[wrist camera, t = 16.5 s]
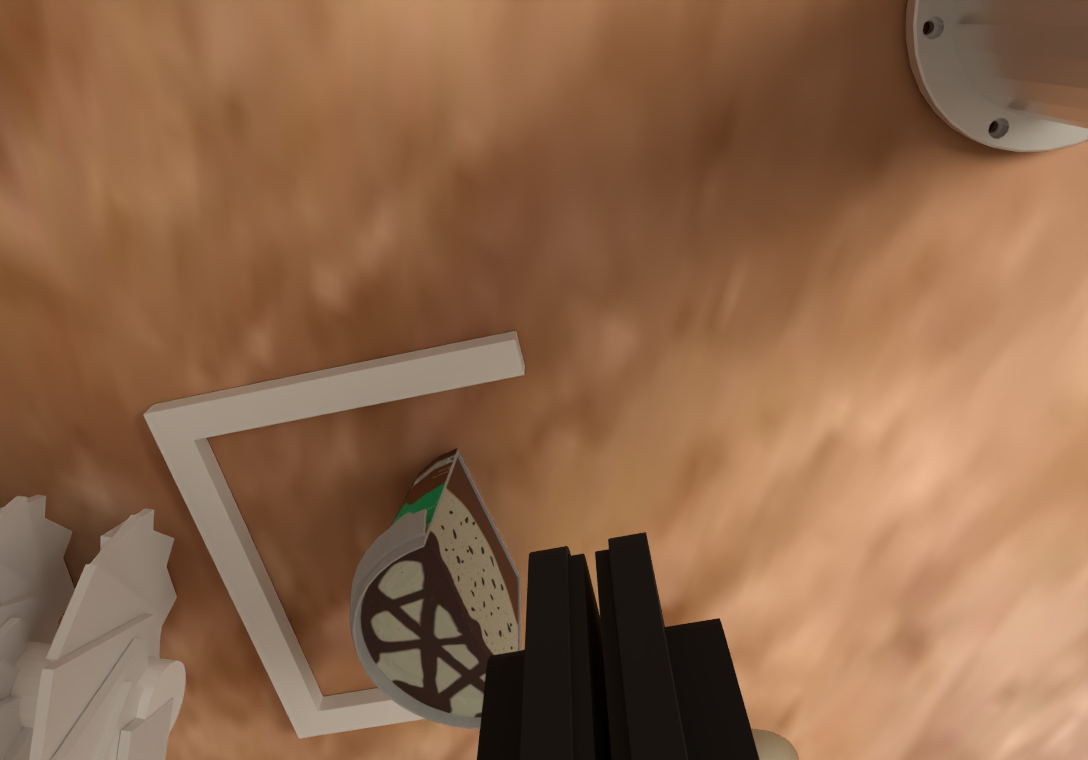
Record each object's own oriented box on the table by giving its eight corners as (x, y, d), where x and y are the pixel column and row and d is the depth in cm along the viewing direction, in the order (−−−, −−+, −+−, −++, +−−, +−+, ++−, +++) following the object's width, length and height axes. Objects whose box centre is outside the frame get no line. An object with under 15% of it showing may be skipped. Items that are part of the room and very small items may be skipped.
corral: (516, 330, 41) (515, 339, 39) (602, 676, 50) (603, 690, 49) (153, 404, 42) (142, 414, 41) (304, 723, 52) (299, 738, 51)
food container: (345, 460, 44) (291, 576, 35) (446, 425, 43) (418, 535, 34) (436, 623, 49) (410, 762, 40) (530, 595, 48) (524, 731, 39)
